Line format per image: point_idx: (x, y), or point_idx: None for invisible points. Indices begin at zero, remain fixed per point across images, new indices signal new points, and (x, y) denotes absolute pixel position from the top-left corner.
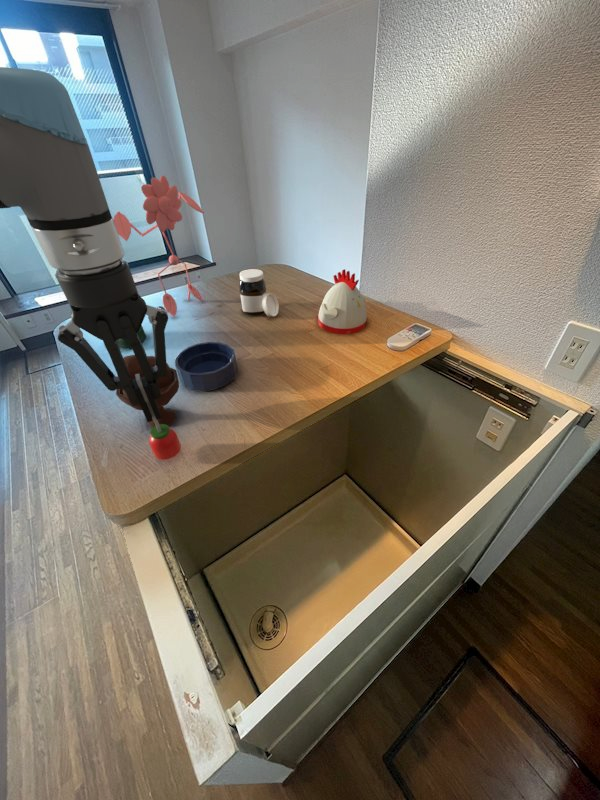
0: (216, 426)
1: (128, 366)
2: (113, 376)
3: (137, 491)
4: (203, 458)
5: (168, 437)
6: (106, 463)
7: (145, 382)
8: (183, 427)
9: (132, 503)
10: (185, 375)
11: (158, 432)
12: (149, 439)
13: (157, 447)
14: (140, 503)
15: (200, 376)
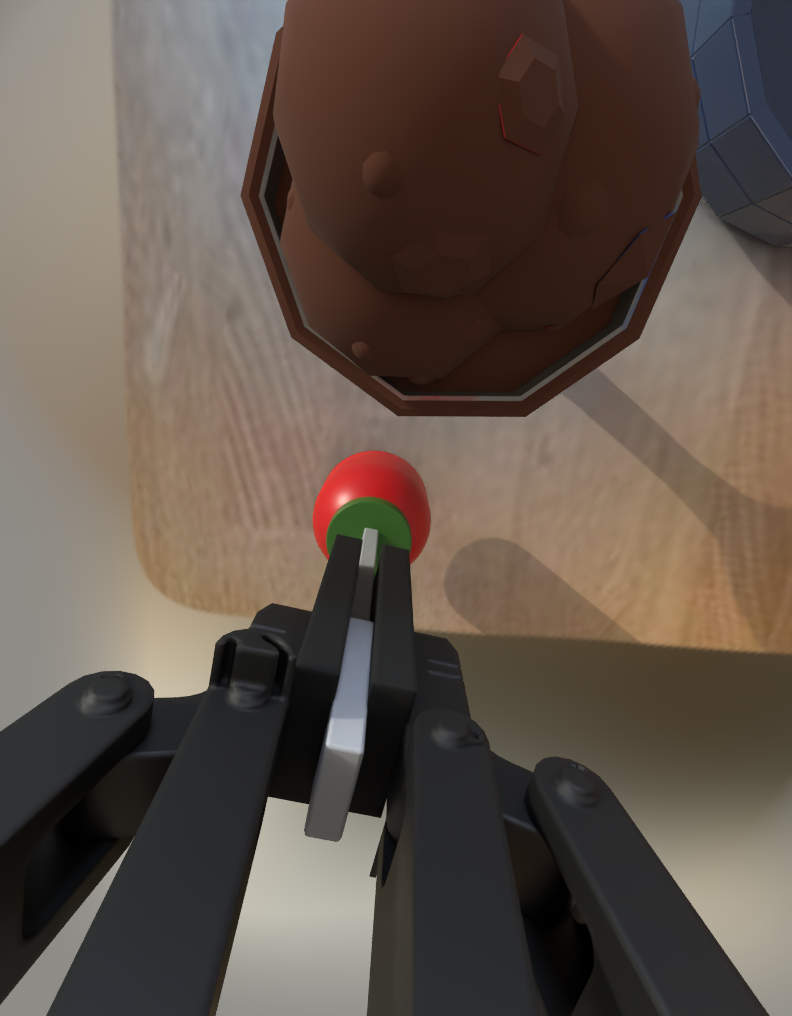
0: (594, 476)
1: (376, 191)
2: (117, 763)
3: (227, 566)
4: (463, 586)
5: None
6: (160, 366)
7: (378, 764)
8: None
9: (202, 598)
10: (724, 77)
11: None
12: (318, 513)
13: None
14: (223, 613)
15: (780, 181)
